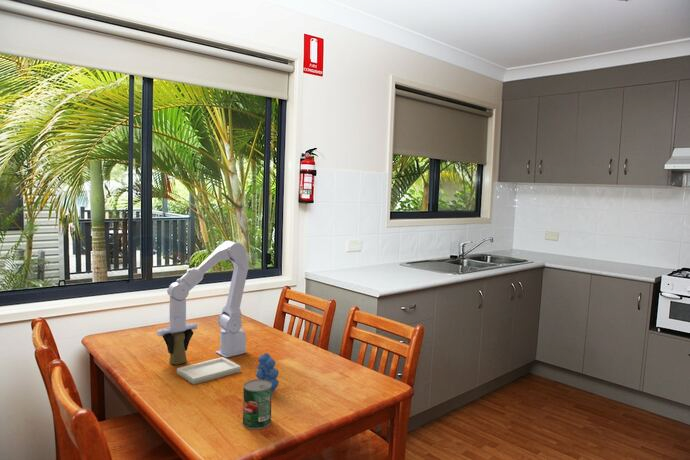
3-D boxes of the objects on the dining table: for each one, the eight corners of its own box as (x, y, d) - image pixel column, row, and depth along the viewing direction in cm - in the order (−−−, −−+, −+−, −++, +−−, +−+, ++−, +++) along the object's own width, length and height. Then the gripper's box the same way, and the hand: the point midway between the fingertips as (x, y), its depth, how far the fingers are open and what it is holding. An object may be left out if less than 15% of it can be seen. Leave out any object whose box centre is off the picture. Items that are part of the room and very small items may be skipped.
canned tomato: (236, 425, 136) (237, 387, 135) (252, 413, 143) (252, 377, 142) (262, 431, 133) (262, 392, 132) (276, 419, 140) (277, 382, 139)
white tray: (223, 362, 183) (223, 357, 183) (240, 371, 175) (240, 366, 174) (177, 373, 171) (177, 368, 170) (193, 384, 162) (193, 378, 162)
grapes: (247, 387, 162) (248, 351, 161) (266, 382, 166) (266, 348, 165) (263, 400, 152) (264, 362, 151) (282, 395, 156) (283, 358, 155)
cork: (181, 364, 178) (180, 335, 177) (166, 363, 179) (165, 334, 178) (189, 359, 184) (189, 330, 183) (174, 357, 185) (174, 329, 184)
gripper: (191, 310, 187) (190, 344, 189) (153, 316, 177) (153, 352, 179) (200, 313, 182) (199, 349, 184) (162, 320, 172) (162, 358, 174)
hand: (177, 351), depth 181 cm, fingers closed on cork, 5 cm apart
